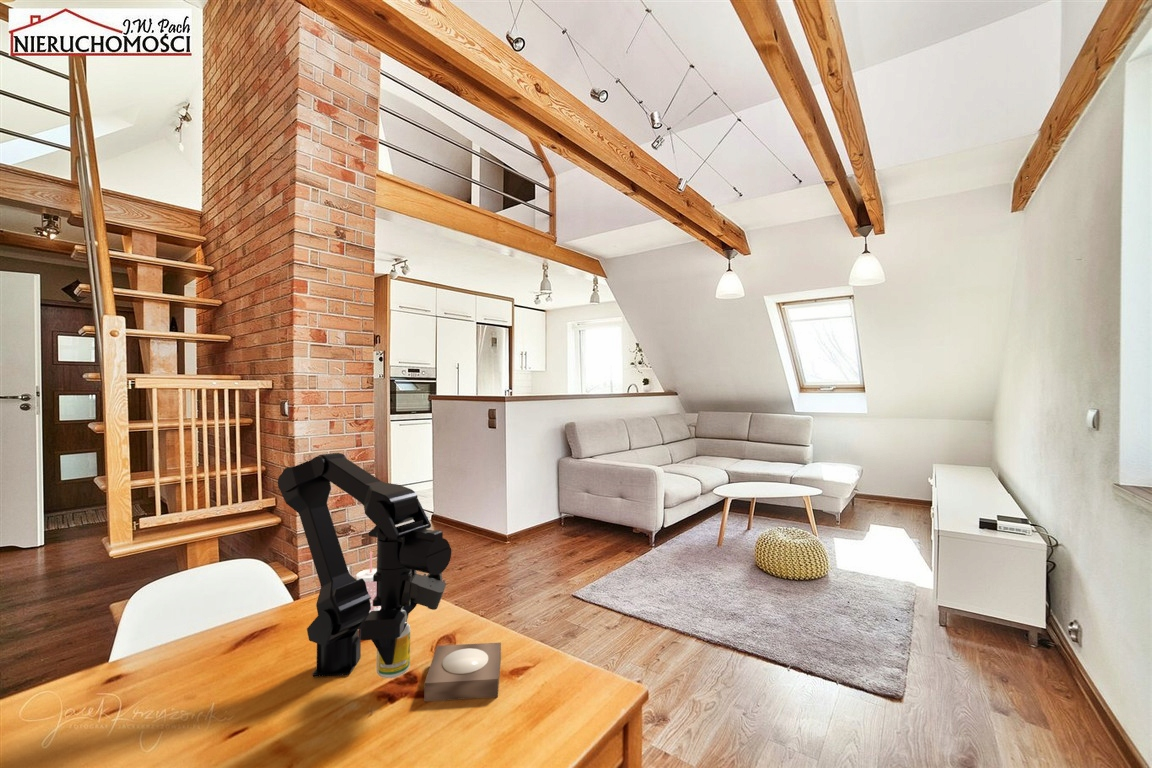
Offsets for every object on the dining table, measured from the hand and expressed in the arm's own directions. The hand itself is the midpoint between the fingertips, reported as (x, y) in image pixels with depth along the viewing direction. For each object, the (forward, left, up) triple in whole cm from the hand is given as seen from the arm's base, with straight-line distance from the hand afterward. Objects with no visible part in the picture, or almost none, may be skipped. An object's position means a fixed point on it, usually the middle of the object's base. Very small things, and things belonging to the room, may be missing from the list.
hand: (393, 655), depth 84 cm
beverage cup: (-13, +31, -6) cm, 34 cm away
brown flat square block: (+12, +2, -6) cm, 13 cm away
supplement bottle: (0, 0, -3) cm, 3 cm away
